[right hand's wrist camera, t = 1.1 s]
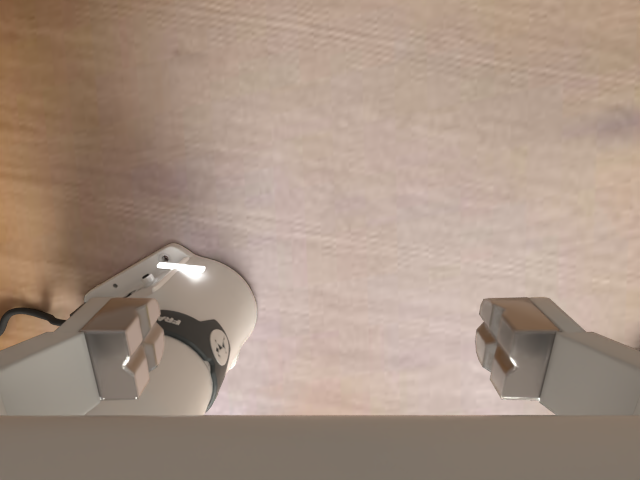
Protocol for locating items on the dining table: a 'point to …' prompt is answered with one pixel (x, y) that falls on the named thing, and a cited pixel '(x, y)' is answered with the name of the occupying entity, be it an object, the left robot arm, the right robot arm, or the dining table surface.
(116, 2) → the dining table surface
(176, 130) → the dining table surface
